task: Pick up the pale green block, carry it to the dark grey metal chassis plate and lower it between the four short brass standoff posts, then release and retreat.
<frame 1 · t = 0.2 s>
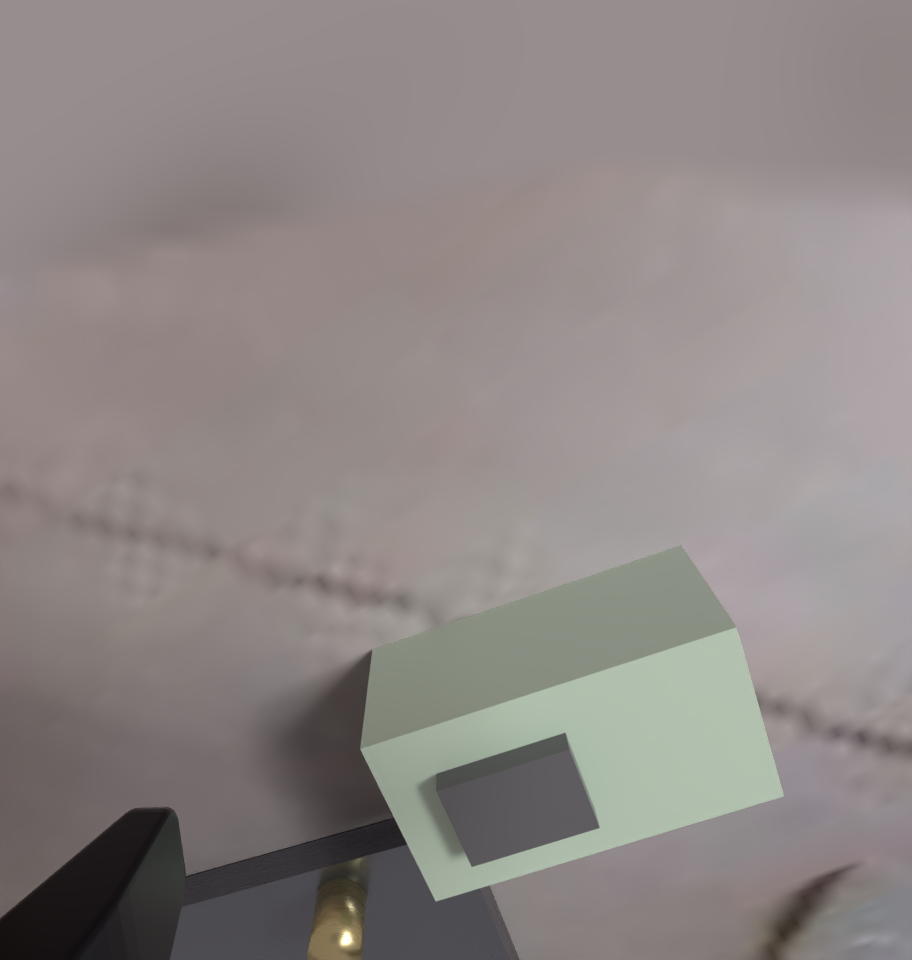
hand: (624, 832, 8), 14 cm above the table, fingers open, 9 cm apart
pale green block: (550, 667, 24), on the table
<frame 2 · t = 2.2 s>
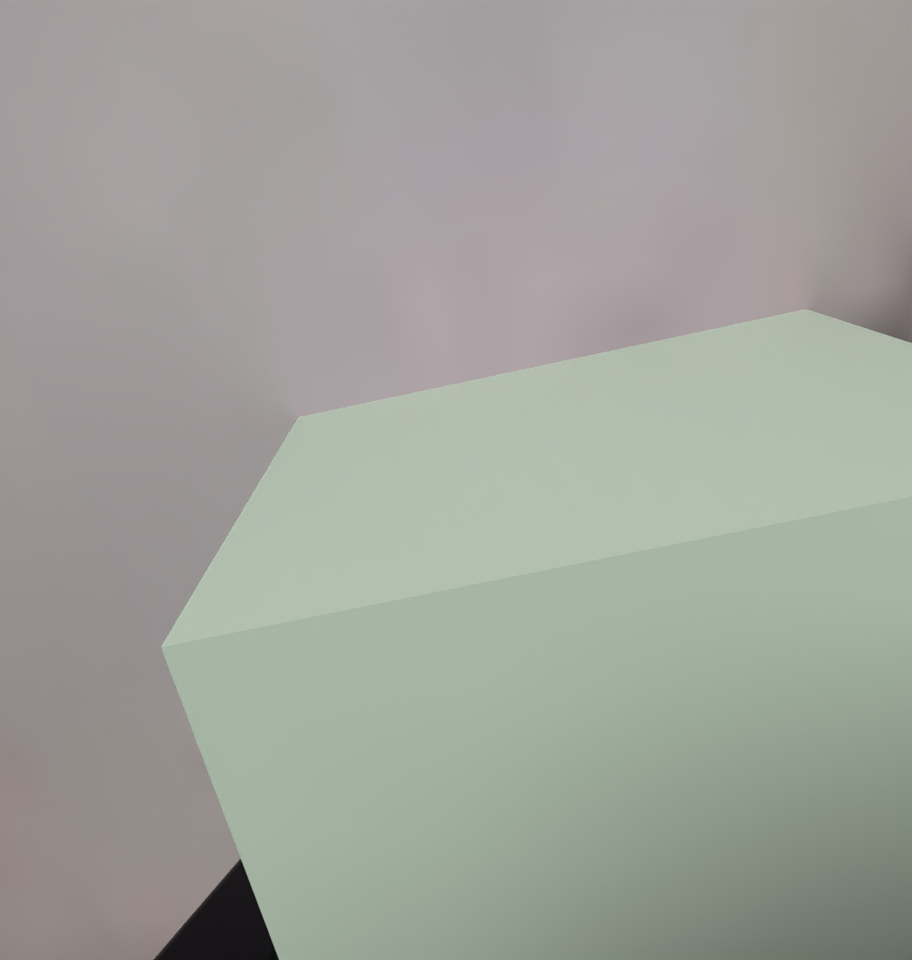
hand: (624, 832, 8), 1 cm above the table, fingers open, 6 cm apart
pale green block: (612, 734, 10), on the table, touching gripper
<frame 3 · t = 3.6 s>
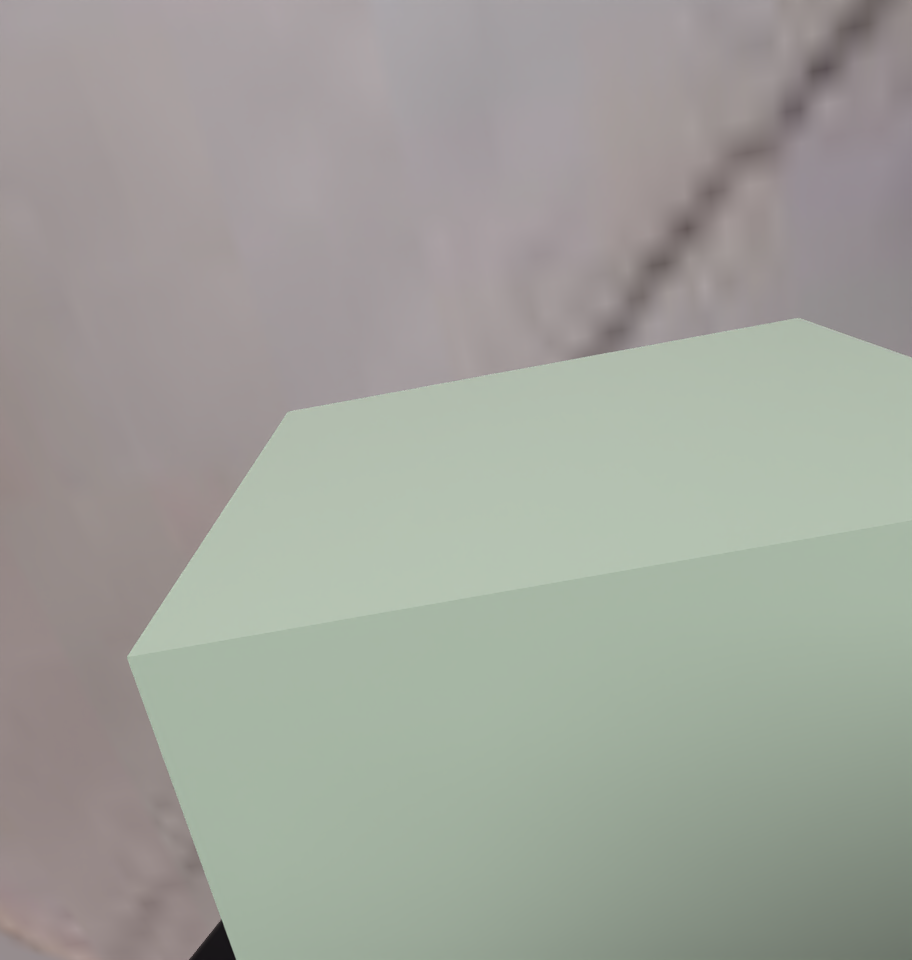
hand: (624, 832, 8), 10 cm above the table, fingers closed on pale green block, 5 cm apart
pale green block: (597, 747, 9), point 9 cm above the table, touching gripper
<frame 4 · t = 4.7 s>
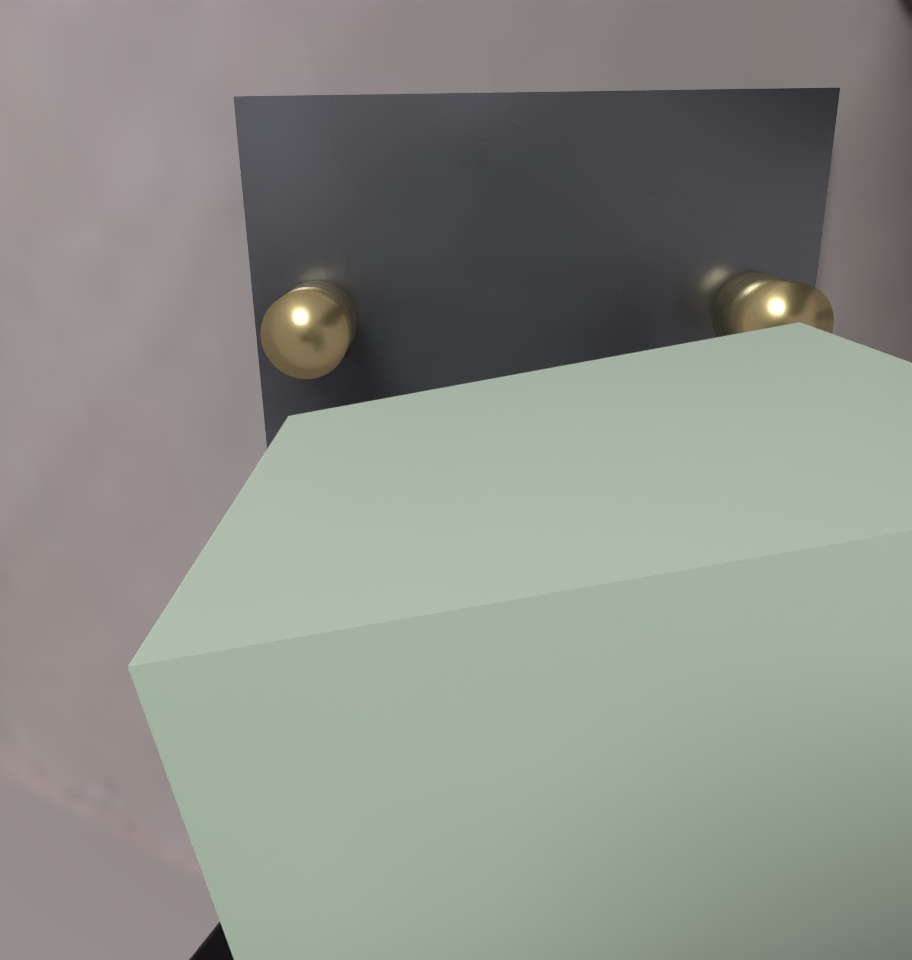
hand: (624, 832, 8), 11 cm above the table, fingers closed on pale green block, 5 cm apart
chassis: (526, 485, 19), on the table
pale green block: (597, 751, 9), point 10 cm above the table, touching gripper
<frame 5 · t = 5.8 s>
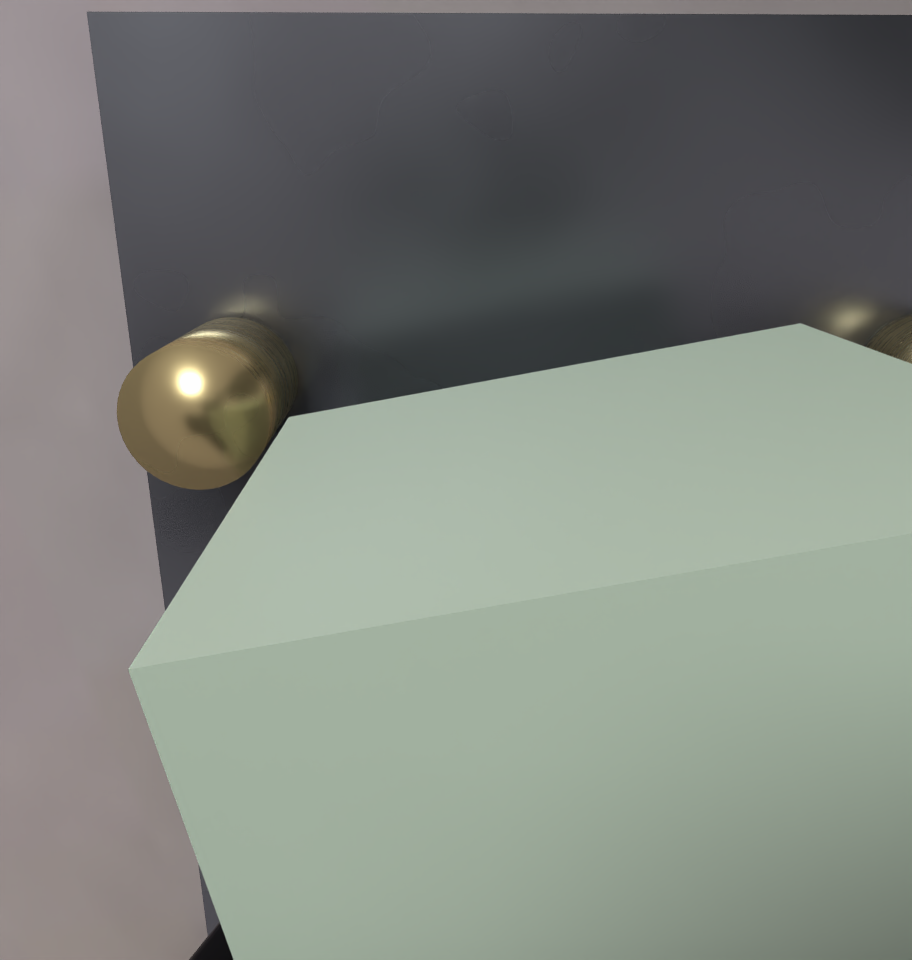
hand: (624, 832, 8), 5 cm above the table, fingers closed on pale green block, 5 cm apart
chassis: (553, 614, 13), on the table
pale green block: (598, 752, 9), point 3 cm above the table, touching gripper
when the fingers open (4 cm above the table, at t = 6.8 s): pale green block drops 1 cm, resting on chassis.
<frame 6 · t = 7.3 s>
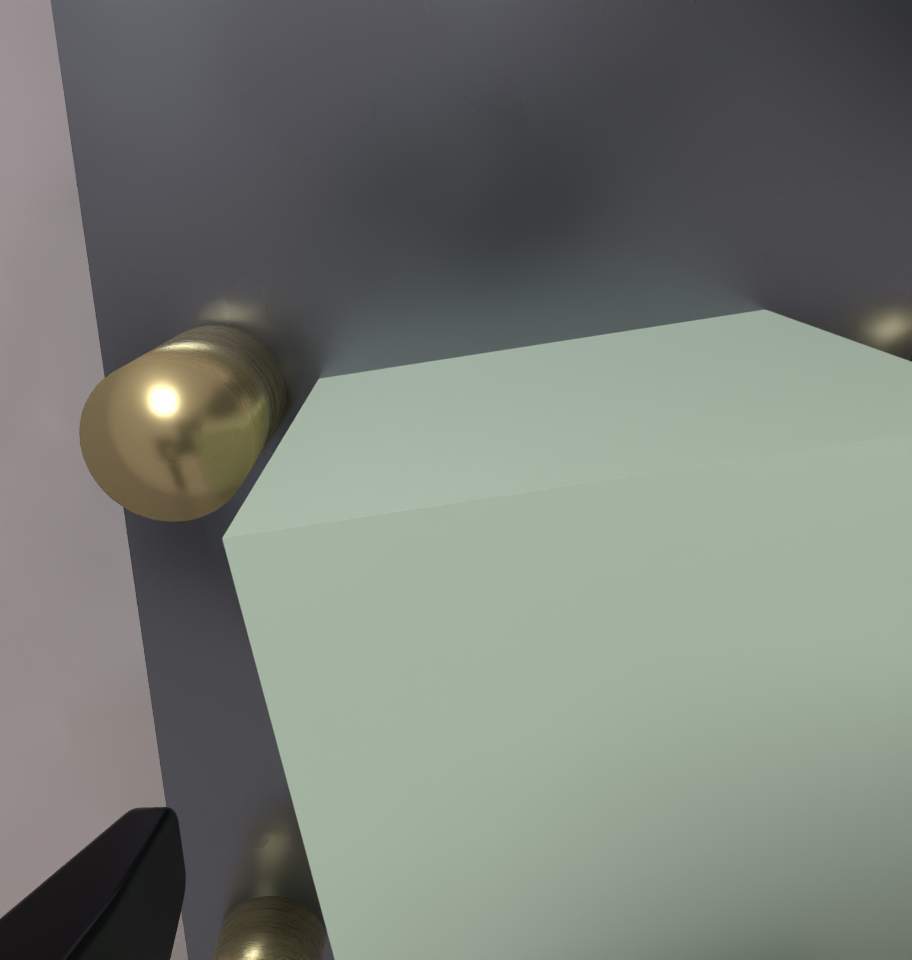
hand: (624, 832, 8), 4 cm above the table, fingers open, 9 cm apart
chassis: (566, 644, 12), on the table
pale green block: (580, 688, 11), point 1 cm above the table, touching chassis
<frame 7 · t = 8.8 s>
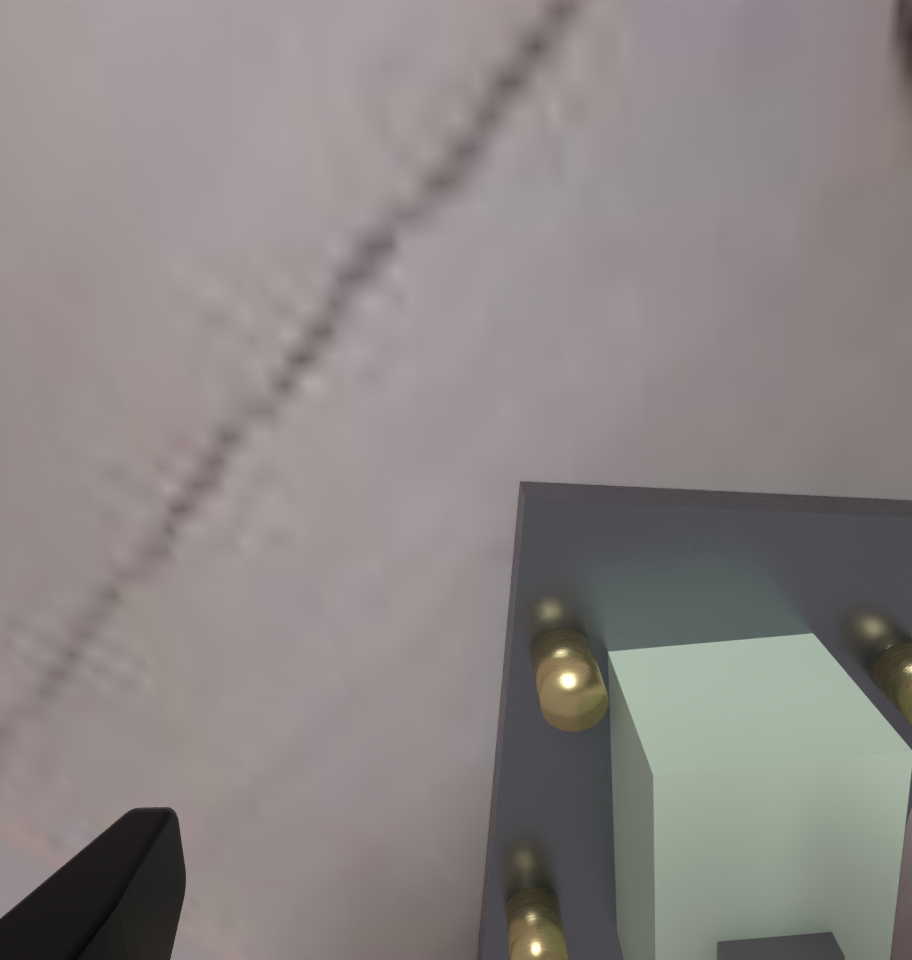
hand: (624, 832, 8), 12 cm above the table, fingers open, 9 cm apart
chassis: (694, 764, 23), on the table
pale green block: (708, 792, 22), point 1 cm above the table, touching chassis
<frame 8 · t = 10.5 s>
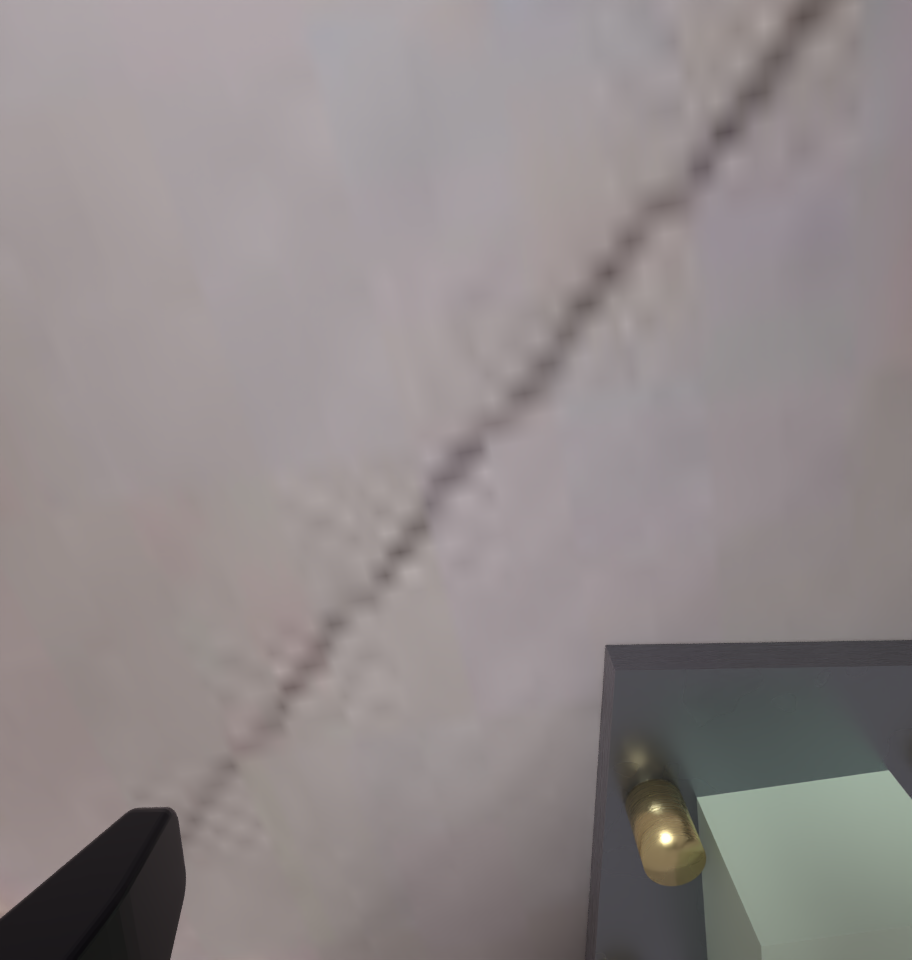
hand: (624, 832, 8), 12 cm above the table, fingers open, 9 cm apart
chassis: (777, 882, 24), on the table
pale green block: (795, 915, 23), point 1 cm above the table, touching chassis
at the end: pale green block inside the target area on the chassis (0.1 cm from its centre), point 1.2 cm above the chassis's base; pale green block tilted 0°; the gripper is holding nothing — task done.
